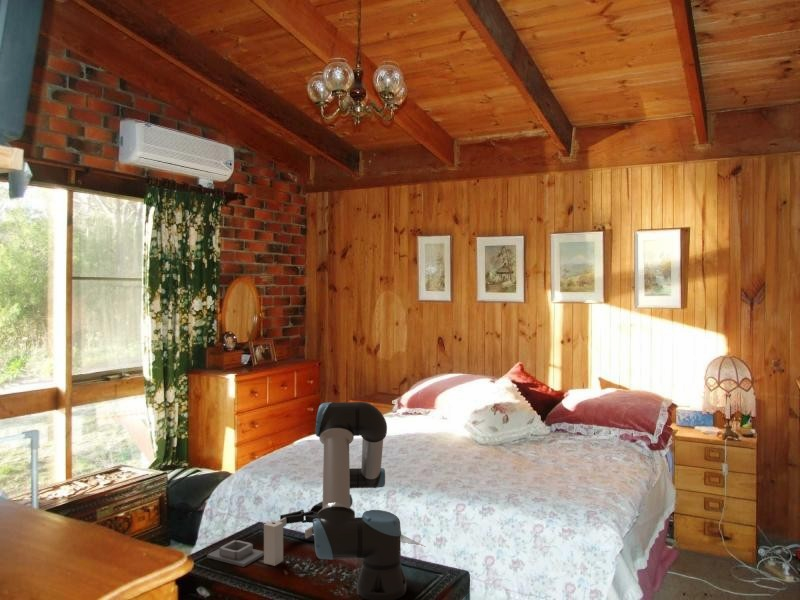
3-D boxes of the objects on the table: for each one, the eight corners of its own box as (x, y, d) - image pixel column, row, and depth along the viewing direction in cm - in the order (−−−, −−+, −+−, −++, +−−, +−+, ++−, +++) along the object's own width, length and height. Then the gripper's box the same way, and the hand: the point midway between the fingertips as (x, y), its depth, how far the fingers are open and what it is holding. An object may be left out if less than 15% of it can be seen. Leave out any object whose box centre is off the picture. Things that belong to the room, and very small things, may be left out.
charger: (283, 560, 215) (283, 521, 215) (274, 565, 211) (274, 526, 211) (272, 558, 217) (272, 519, 217) (263, 563, 213) (263, 523, 213)
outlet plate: (265, 554, 220) (265, 544, 220) (243, 567, 210) (243, 556, 210) (229, 546, 227) (229, 536, 227) (207, 557, 217) (207, 547, 217)
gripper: (352, 527, 235) (319, 548, 216) (297, 516, 247) (261, 534, 228) (352, 507, 235) (319, 526, 216) (297, 496, 246) (261, 514, 228)
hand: (289, 530), depth 222 cm, fingers open, 13 cm apart
